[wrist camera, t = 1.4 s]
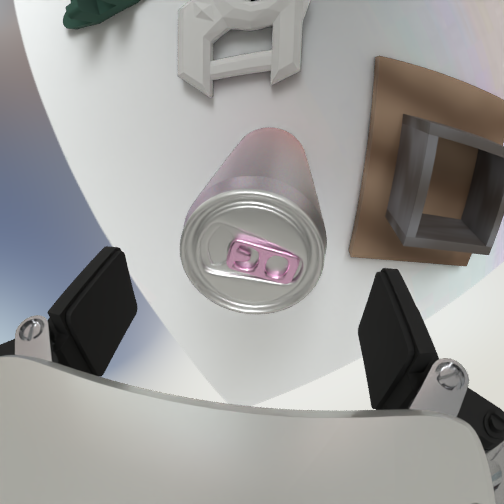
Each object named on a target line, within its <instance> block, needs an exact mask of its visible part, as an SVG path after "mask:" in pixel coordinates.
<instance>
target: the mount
mask: <svg viewBox="0 0 504 504" xmlns="http://www.w3.org/2000/svg"><path fill="white" fill-rule="evenodd" d="M139 1H140V0H71V4H69V5H68V6H66V13H65V15H64V18H63V24H64V26H65V27H66V28H68V29H79V28H83V27H87V26H91V25H96V24H100V23H101V22H103V21H105V20H106V19H108V18H110V17H112V16H113V15H115V14H117V13H119V12H121V11H123V10H124V9H126V8H128V7H130V6H132V5H134V4H136V3H138V2H139Z"/></svg>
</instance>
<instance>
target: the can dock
mask: <svg viewBox="0 0 504 504" xmlns="http://www.w3.org/2000/svg"><path fill="white" fill-rule="evenodd" d="M503 142H504V100H503V99H501V98H499V97H497V96H495V95H493V94H491V93H489V92H486V91H484V90H482V89H480V88H477V87H475V86H473V85H470V84H468V83H465V82H463V81H460V80H458V79H455V78H453V77H450V76H447V75H444V74H442V73H439V72H436V71H433V70H430V69H427V68H423V67H420V66H417V65H413V64H410V63H406V62H403V61H399V60H395V59H391V58H387V57H382V56H377V57H375V68H374V84H373V96H372V107H371V117H370V126H369V135H368V143H367V150H366V158H365V164H364V171H363V177H362V184H361V190H360V195H359V201H358V207H357V212H356V217H355V222H354V227H353V232H352V237H351V242H350V246H349V253H350V256H351V257H358V258H371V259H383V260H396V261H408V262H421V263H433V264H445V265H457V266H467V264H468V262H469V259H470V257H471V254H472V253H474V254H483V255H489V253H490V251H491V248H492V246H493V243H494V241H495V238H496V235H497V232H498V230H499V227H500V224H501V221H502V218H503V215H504V146H503Z"/></svg>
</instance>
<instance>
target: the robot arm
mask: <svg viewBox="0 0 504 504" xmlns="http://www.w3.org/2000/svg"><path fill="white" fill-rule="evenodd" d="M136 312H137V303H136V299H135V295H134V291H133V288H132V284H131V280H130V275H129V271H128V267H127V262H126V258H125V254H124V252H122V251H121V249H120V248H118V247H104V248H103V249H102V250H101V251H100V252H99V253H98V254H97V256H96V257H95V258H94V259H93V260H92V261H91V262H90V263H89V264H88V265H87V266H86V268H85V269H84V270H83V271H82V272H81V273H80V274H79V275H78V276H77V278H76V279H75V280H74V281H73V282H72V283H71V284H70V286H69V287H68V288H67V289H66V290H65V291H64V293H63V294H62V295H61V296H60V297H59V299H58V300H57V301H56V302H55V303H54V305H53V306H52V307H51V308H50V310H49V311H48V314H49V316H50V318H49V319H48V321H47V320H46V318H45V317H43V316H31V317H29V318H27V319H25V320H24V321H23V322H22V323H21V324H20V325H19V326H18V328H17V330H16V334H15V339H13V340H11V341H8V342H6V343H3V344H1V345H0V504H504V412H503V411H502V410H501V409H500V408H498V407H497V406H495V405H494V404H492V403H491V402H489V401H487V400H486V399H485V398H483V397H481V396H480V395H479V394H477V393H476V392H474V391H472V390H471V389H469V388H468V384H469V378H468V374H467V372H466V370H465V368H464V367H463V366H462V365H461V364H460V363H458V362H457V361H455V360H452V359H448V358H443V359H439V358H438V355H437V352H436V350H435V347H434V345H433V343H432V340H431V338H430V336H429V333H428V331H427V328H426V326H425V324H424V321H423V319H422V317H421V315H420V312H419V310H418V308H417V307H416V305H415V303H414V301H413V299H412V296H411V294H410V292H409V290H408V288H407V286H406V284H405V282H404V280H403V278H402V276H401V274H400V272H399V270H398V269H388V268H383V269H382V270H381V272H377V273H376V275H375V279H374V282H373V285H372V288H371V292H370V295H369V298H368V301H367V304H366V307H365V310H364V313H363V316H362V319H361V322H360V324H359V328H358V336H359V341H360V346H361V351H362V356H363V361H364V365H365V371H366V377H367V382H368V388H369V394H370V400H371V406H372V408H373V409H376V410H360V411H315V410H289V409H288V410H287V409H273V408H261V407H251V406H242V405H233V404H225V403H218V402H211V401H204V400H198V399H192V398H187V397H181V396H176V395H170V394H166V393H161V392H157V391H152V390H148V389H144V388H139V387H135V386H131V385H127V384H123V383H120V382H116V381H112V380H109V379H105V378H102V377H99V376H102V375H103V374H104V372H105V370H106V368H107V366H108V364H109V363H110V360H111V359H112V357H113V355H114V353H115V351H116V349H117V348H118V345H119V344H120V342H121V340H122V338H123V336H124V335H125V333H126V331H127V329H128V327H129V326H130V324H131V322H132V320H133V318H134V317H135V315H136Z"/></svg>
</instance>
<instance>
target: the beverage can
mask: <svg viewBox="0 0 504 504" xmlns="http://www.w3.org/2000/svg"><path fill="white" fill-rule="evenodd" d="M326 245H327V238H326V231H325V226H324V222H323V218H322V214H321V210H320V206H319V202H318V198H317V194H316V190H315V186H314V183H313V179H312V175H311V172H310V168H309V164H308V161H307V157H306V154H305V151H304V149H303V147H302V145H301V143H300V142H299V141H298V140H297V139H296V138H295V137H294V136H293V135H292V134H290V133H289V132H287V131H284V130H282V129H278V128H272V127H267V128H260V129H257V130H254V131H252V132H250V133H249V134H247V135H246V136H245V137H244V138H243V139H242V140H241V141H240V142H239V144H238V145H237V146H236V147H235V149H234V150H233V151H232V152H231V154H230V155H229V156H228V158H227V159H226V160H225V161H224V163H223V164H222V165H221V167H220V168H219V169H218V171H217V172H216V173H215V174H214V176H213V177H212V178H211V180H210V181H209V182H208V184H207V185H206V186H205V188H204V189H203V191H202V192H201V193H200V195H199V196H198V197H197V199H196V200H195V201H194V203H193V204H192V206H191V208H190V209H189V211H188V214H187V216H186V219H185V223H184V229H183V231H182V235H181V239H180V257H181V262H182V265H183V268H184V270H185V273H186V275H187V276H188V278H189V280H190V281H191V283H192V284H193V285H194V286H195V288H196V289H197V290H198V291H199V292H200V293H201V294H203V295H204V296H205V297H206V298H208V299H209V300H211V301H212V302H214V303H215V304H217V305H219V306H221V307H224V308H226V309H229V310H232V311H236V312H240V313H246V314H267V313H274V312H278V311H281V310H284V309H287V308H289V307H291V306H293V305H295V304H297V303H298V302H300V301H301V300H302V299H304V298H305V297H306V296H307V295H308V294H309V293H310V292H311V291H312V290H313V288H314V287H315V285H316V284H317V282H318V280H319V278H320V276H321V274H322V270H323V266H324V258H325V253H326Z"/></svg>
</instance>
